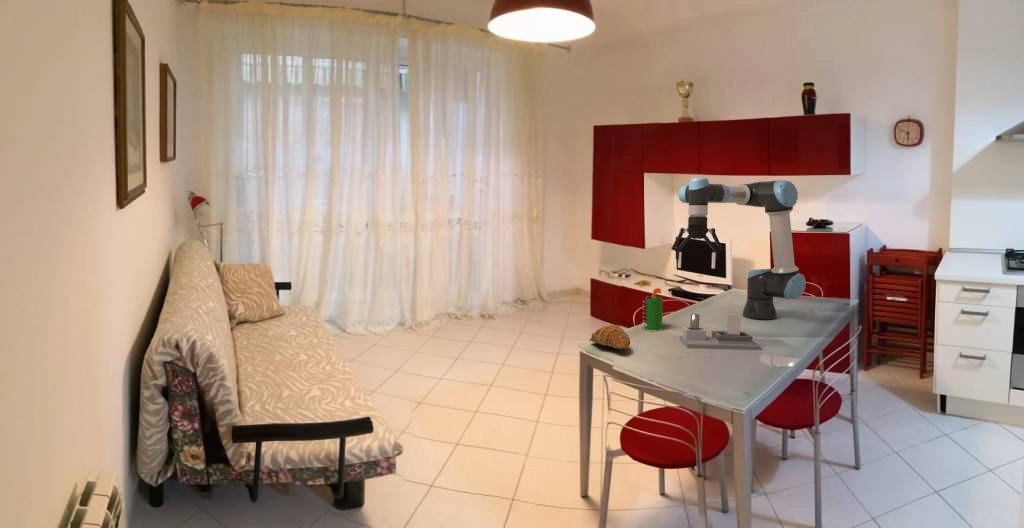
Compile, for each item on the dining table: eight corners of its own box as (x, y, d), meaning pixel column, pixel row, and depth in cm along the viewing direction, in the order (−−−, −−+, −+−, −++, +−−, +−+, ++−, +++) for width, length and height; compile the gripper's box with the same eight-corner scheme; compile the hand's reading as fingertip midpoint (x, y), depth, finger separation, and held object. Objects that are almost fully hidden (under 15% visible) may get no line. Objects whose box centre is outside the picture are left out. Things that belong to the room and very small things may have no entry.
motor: (638, 330, 285) (639, 286, 284) (657, 330, 286) (659, 287, 285) (645, 334, 275) (646, 289, 274) (665, 334, 276) (666, 289, 274)
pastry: (583, 342, 255) (583, 323, 255) (606, 339, 263) (606, 320, 262) (619, 351, 238) (619, 330, 238) (642, 347, 246) (643, 327, 245)
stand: (747, 341, 261) (748, 328, 261) (760, 349, 243) (761, 336, 243) (679, 339, 264) (679, 326, 263) (687, 347, 246) (687, 333, 246)
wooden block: (736, 337, 256) (736, 313, 255) (739, 340, 250) (740, 315, 249) (723, 337, 256) (724, 313, 255) (726, 339, 250) (727, 315, 249)
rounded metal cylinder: (697, 337, 260) (698, 313, 259) (699, 339, 256) (700, 315, 256) (689, 337, 260) (690, 313, 260) (690, 339, 257) (691, 314, 256)
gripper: (727, 216, 258) (725, 267, 259) (665, 215, 260) (664, 266, 261) (731, 216, 250) (729, 269, 251) (668, 215, 252) (666, 268, 254)
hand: (696, 268), depth 256 cm, fingers open, 13 cm apart
